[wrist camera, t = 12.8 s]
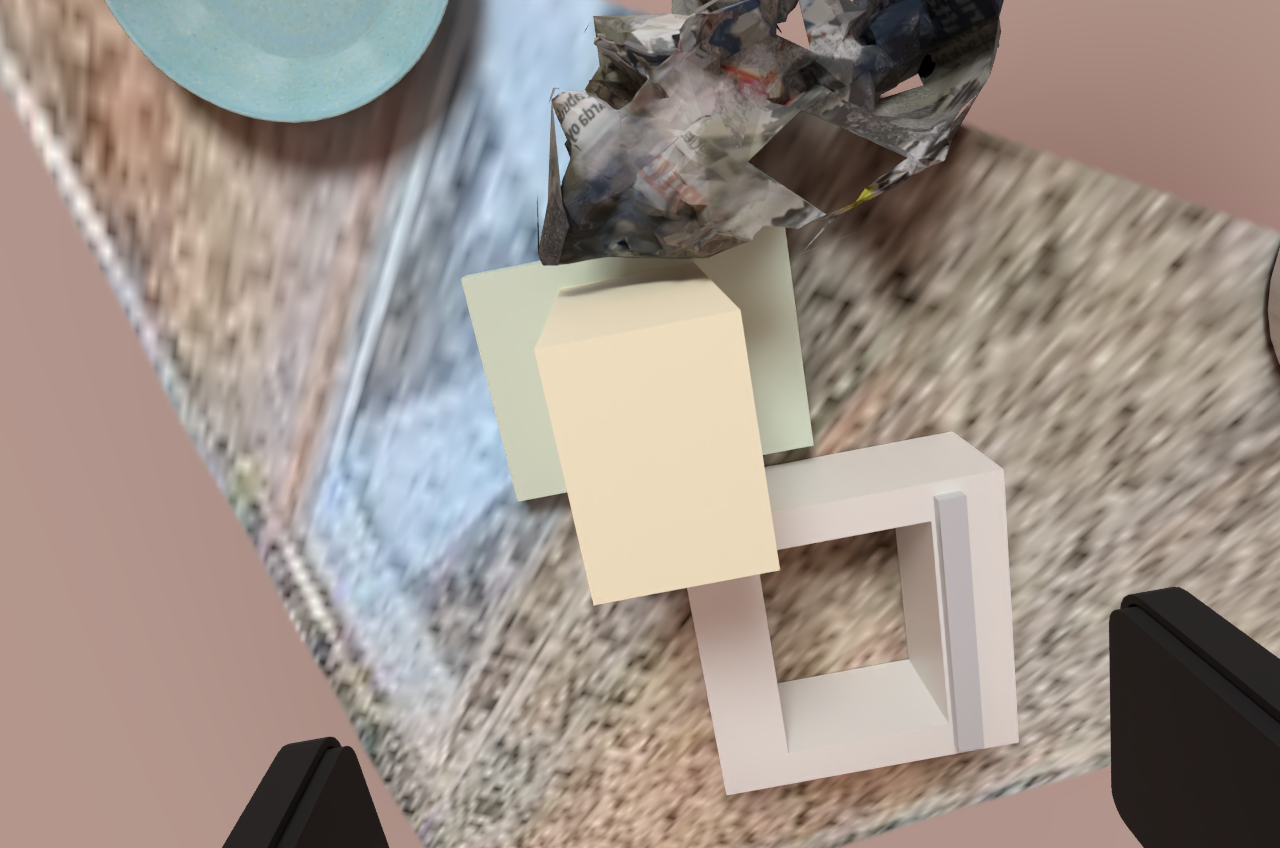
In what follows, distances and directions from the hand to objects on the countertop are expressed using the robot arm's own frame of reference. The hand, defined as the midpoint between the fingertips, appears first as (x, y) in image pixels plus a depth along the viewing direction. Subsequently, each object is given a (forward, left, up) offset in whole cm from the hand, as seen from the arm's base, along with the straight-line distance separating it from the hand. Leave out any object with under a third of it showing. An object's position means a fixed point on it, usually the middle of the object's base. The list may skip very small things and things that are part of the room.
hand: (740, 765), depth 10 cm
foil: (-5, -9, -23) cm, 26 cm away
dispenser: (-6, +11, -23) cm, 26 cm away
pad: (0, 0, -23) cm, 23 cm away
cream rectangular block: (0, 0, -22) cm, 22 cm away
